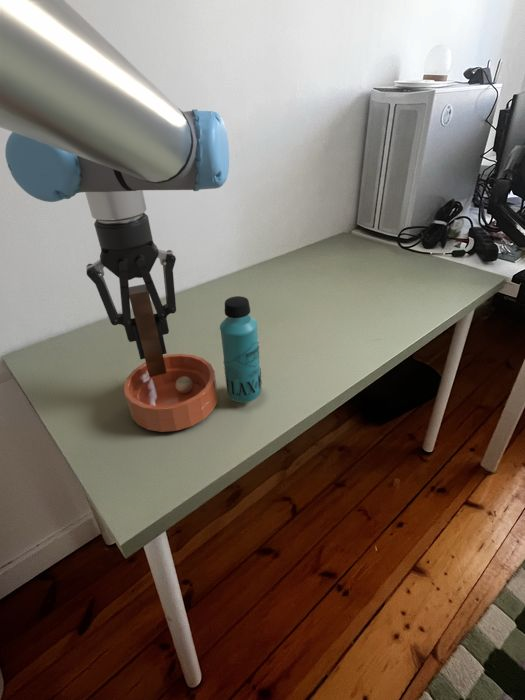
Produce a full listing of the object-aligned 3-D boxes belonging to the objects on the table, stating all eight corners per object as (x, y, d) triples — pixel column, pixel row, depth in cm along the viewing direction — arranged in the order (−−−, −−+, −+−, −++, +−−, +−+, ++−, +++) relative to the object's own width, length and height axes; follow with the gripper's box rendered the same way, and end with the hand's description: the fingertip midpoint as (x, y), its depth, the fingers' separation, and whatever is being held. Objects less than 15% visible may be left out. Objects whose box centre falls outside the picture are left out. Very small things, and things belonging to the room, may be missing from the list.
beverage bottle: (221, 405, 78) (208, 307, 67) (236, 383, 83) (226, 289, 72) (254, 413, 76) (246, 313, 65) (268, 390, 81) (263, 293, 70)
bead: (186, 399, 78) (183, 385, 77) (173, 393, 80) (170, 380, 78) (197, 389, 81) (195, 375, 79) (184, 384, 82) (182, 370, 80)
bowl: (178, 448, 70) (172, 421, 66) (113, 416, 77) (104, 389, 74) (235, 394, 80) (232, 368, 77) (173, 370, 88) (167, 345, 85)
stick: (164, 364, 78) (146, 283, 69) (166, 373, 76) (148, 291, 67) (147, 368, 78) (127, 287, 69) (149, 377, 75) (128, 295, 66)
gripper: (172, 201, 66) (194, 331, 79) (61, 217, 62) (103, 351, 76) (181, 214, 60) (202, 353, 74) (59, 233, 56) (105, 375, 70)
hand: (152, 352), depth 75 cm, fingers closed on stick, 3 cm apart
